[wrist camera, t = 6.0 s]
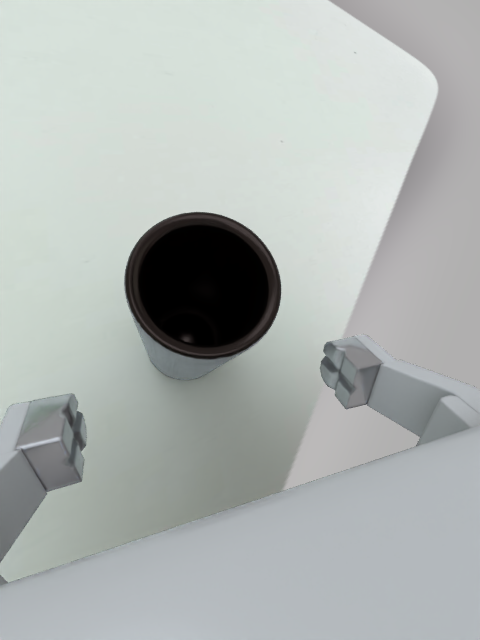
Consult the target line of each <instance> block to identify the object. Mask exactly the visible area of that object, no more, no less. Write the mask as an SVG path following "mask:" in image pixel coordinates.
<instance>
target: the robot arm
mask: <svg viewBox="0 0 480 640" xmlns="http://www.w3.org/2000/svg"><path fill="white" fill-rule="evenodd" d="M323 352H324V353H325V355H326V356H325V357H324V358H323V360H322V361H321V366H320V371H321V376H322V378H323V380H324V382H325V383H326V385H327V386H328V387H330V388H332V389H334V390H335V396H336V397H337V399H338V400H339V401H340V402H341V404H342V405H343V406H344V408H345V409H349V408H353V407H358V406H362V405H366V404H367V406H369V407H371V408H372V409H374V410H376V411H377V412H379V413H381V414H382V415H384V416H386V417H388V418H389V419H391V420H392V421H394V422H396V423H398V424H399V425H401V426H402V427H404V428H406V429H408V430H410V431H411V432H413V433H414V434H416V435H418V436H420V439H419V441H418V443H417V445H416V447H413V448H410V449H407V450H404V451H401V452H398V453H395V454H392V455H389V456H386V457H383V458H380V459H377V460H374V461H371V462H368V463H365V464H362V465H359V466H357V467H353V468H350V469H347V470H344V471H341V472H338V473H335V474H332V475H329V476H327V477H323V478H320V479H317V480H314V481H311V482H308V483H306V484H302V485H300V486H296V487H293V488H290V489H287V490H284V491H281V492H278V493H275V494H272V495H269V496H266V497H263V498H260V499H257V500H254V501H251V502H248V503H245V504H242V505H239V506H236V507H233V508H230V509H227V510H224V511H221V512H218V513H215V514H213V515H210V516H207V517H204V518H201V519H198V520H195V521H192V522H189V523H186V524H183V525H180V526H177V527H174V528H171V529H168V530H165V531H162V532H159V533H156V534H153V535H150V536H147V537H144V538H141V539H138V540H135V541H132V542H129V543H126V544H123V545H120V546H117V547H114V548H111V549H108V550H105V551H102V552H99V553H96V554H93V555H90V556H87V557H84V558H81V559H78V560H75V561H72V562H69V563H66V564H63V565H60V566H57V567H54V568H51V569H48V570H45V571H42V572H39V573H36V574H33V575H30V576H27V577H24V578H21V579H18V580H15V581H12V582H9V583H8V582H7V581H6V580H5V579H4V578H3V577H2V576H1V575H0V640H480V390H479V389H478V388H477V387H475V386H472V385H469V384H467V383H464V382H461V381H458V380H456V379H453V378H450V377H447V376H445V375H442V374H439V373H436V372H434V371H431V370H428V369H425V368H422V367H420V366H417V365H414V364H411V363H408V362H406V361H403V360H396V359H395V358H393V356H391V355H390V354H389V353H388V352H387V351H386V350H384V349H383V348H382V347H381V346H380V345H379V344H377V343H376V342H375V341H374V340H373V339H372V338H370V337H369V336H368V335H365V334H362V335H357V336H353V337H350V338H344V339H340V340H335V341H330V342H327V343H326V344H325V346H324V350H323ZM77 407H78V401H77V399H76V397H75V395H74V394H72V393H71V394H66V395H60V396H55V397H49V398H43V399H38V400H33V401H29V402H23V403H18V404H12V405H11V406H10V407H9V408H8V409H7V411H6V413H5V416H4V418H3V421H2V423H1V426H0V562H1V561H2V559H3V558H4V556H5V555H6V553H7V552H8V551H9V549H10V548H11V546H12V545H13V543H14V542H15V540H16V539H17V537H18V536H19V534H20V533H21V532H22V530H23V529H24V527H25V526H26V524H27V523H28V521H29V520H30V518H31V517H32V515H33V514H34V513H35V511H36V510H37V508H38V507H39V505H40V504H41V502H42V501H43V499H44V498H45V496H46V495H47V492H48V491H52V490H55V489H58V488H62V487H65V486H68V485H72V484H75V483H78V482H82V476H83V468H84V457H83V455H82V453H81V451H82V450H83V449H84V448H85V446H86V439H87V433H86V424H85V420H84V417H83V414H82V413H80V412H78V411H77Z"/></svg>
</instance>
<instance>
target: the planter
mask: <svg viewBox="0 0 480 640" xmlns="http://www.w3.org/2000/svg"><path fill="white" fill-rule="evenodd" d="M124 285H125V295H126V299H127V303H128V306H129V309H130V312H131V314H132V317H133V319H134V321H135V324H136V326H137V329H138V331H139V334H140V336H141V338H142V341H143V343H144V346H145V348H146V351H147V353H148V355H149V358H150V360H151V361H152V363H153V364H154V365H155V367H156V368H157V369H158V370H160V371H161V372H162V373H164V374H165V375H167V376H169V377H172V378H175V379H180V380H190V379H195V378H199V377H201V376H203V375H205V374H207V373H209V372H210V371H212V370H214V369H216V368H217V367H219V366H221V365H222V364H224V363H226V362H228V361H229V360H231V359H233V358H235V357H236V356H238V355H240V354H241V353H243V352H245V351H246V350H248V349H249V348H251V347H252V346H254V345H255V344H256V343H257V342H258V341H260V340H261V339H262V338H263V336H264V335H265V334H266V333H267V332H268V330H269V329H270V327H271V326H272V324H273V322H274V320H275V318H276V316H277V313H278V310H279V306H280V300H281V281H280V275H279V271H278V268H277V265H276V263H275V260H274V258H273V256H272V254H271V253H270V251H269V250H268V248H267V247H266V245H265V244H264V243H263V242H262V240H261V239H260V238H259V237H258V236H257V235H256V234H255V233H253V232H252V231H251V230H250V229H248V228H247V227H246V226H244V225H242V224H241V223H239V222H237V221H235V220H233V219H231V218H228V217H225V216H222V215H218V214H214V213H207V212H190V213H183V214H179V215H175V216H172V217H169V218H167V219H165V220H163V221H161V222H159V223H157V224H156V225H154V226H153V227H152V228H150V229H149V230H148V231H147V232H146V233H145V234H144V235H143V236H142V237H141V238H140V239H139V241H138V242H137V243H136V245H135V246H134V248H133V250H132V252H131V254H130V256H129V259H128V262H127V265H126V270H125V279H124Z"/></svg>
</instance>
